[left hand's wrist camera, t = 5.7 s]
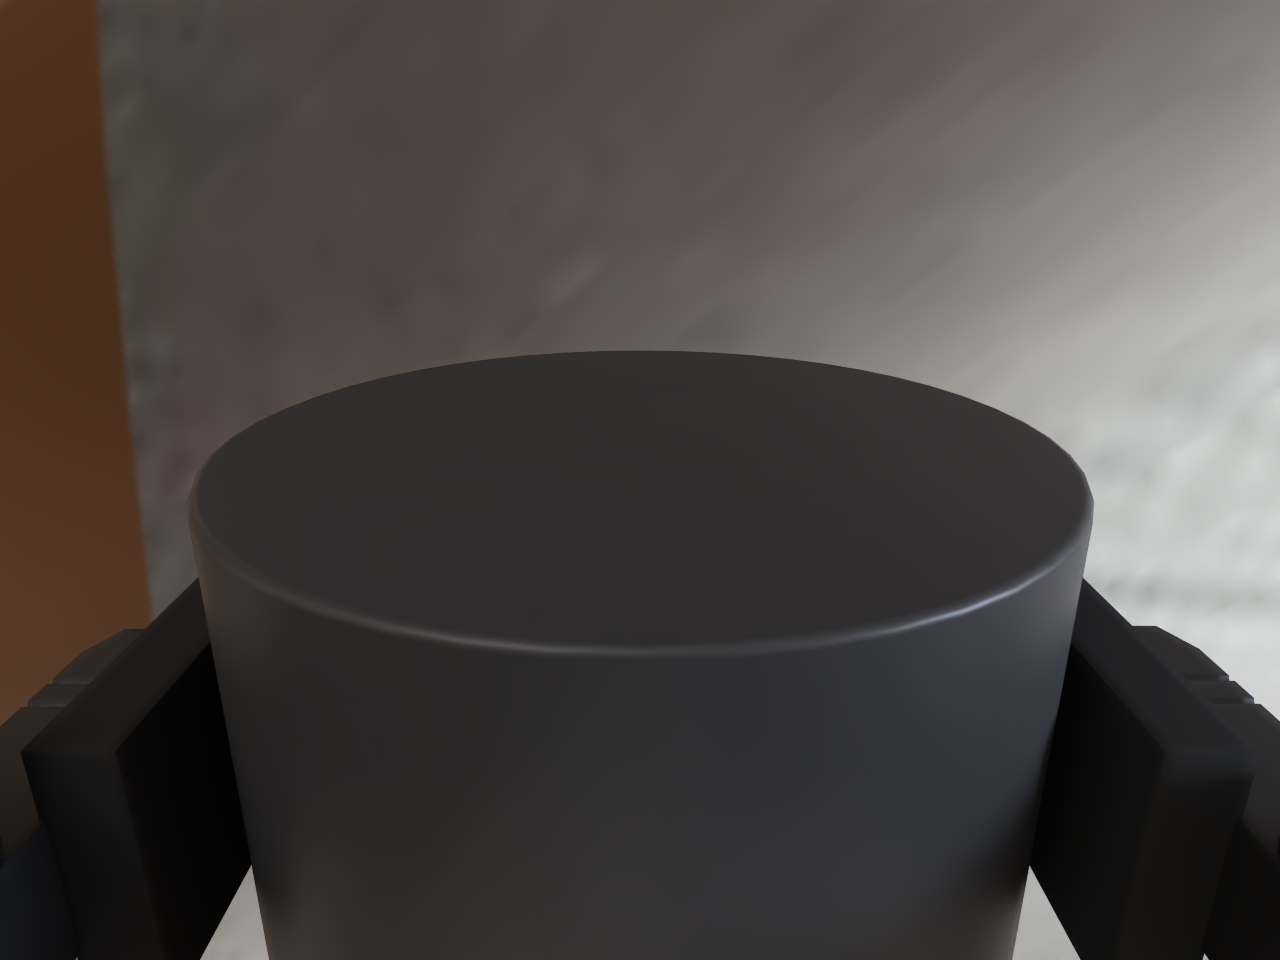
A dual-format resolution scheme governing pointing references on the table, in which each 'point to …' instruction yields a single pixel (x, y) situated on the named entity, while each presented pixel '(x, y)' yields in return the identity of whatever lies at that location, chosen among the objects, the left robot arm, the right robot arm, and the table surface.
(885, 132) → the table surface
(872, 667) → the rod
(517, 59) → the table surface
